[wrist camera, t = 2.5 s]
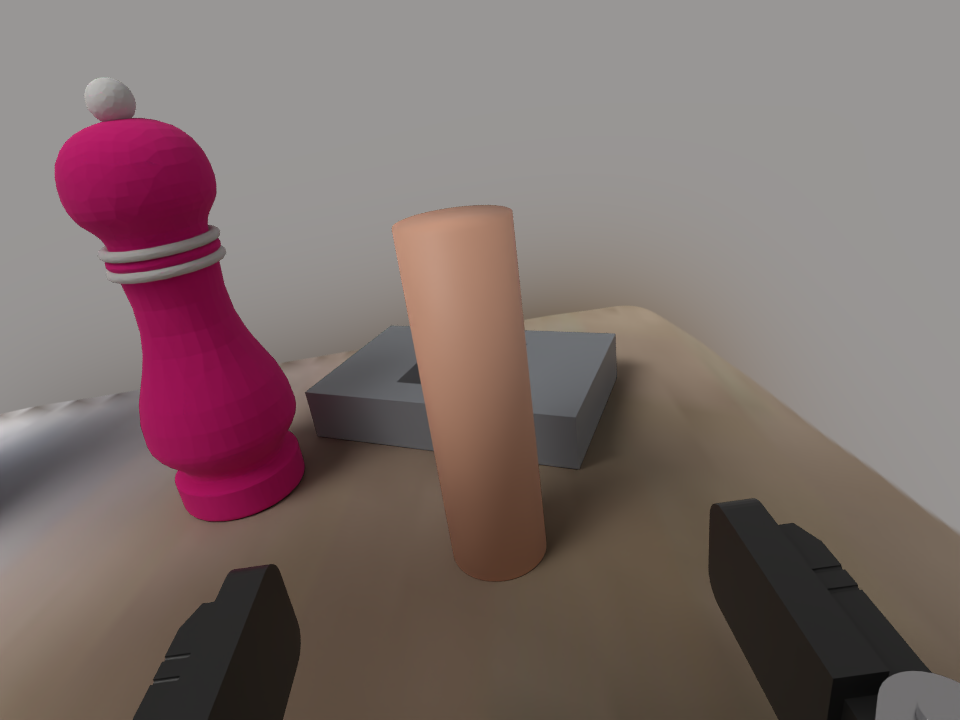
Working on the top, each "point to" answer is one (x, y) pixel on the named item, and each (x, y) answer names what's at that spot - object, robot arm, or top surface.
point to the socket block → (401, 408)
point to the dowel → (475, 383)
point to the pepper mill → (181, 310)
